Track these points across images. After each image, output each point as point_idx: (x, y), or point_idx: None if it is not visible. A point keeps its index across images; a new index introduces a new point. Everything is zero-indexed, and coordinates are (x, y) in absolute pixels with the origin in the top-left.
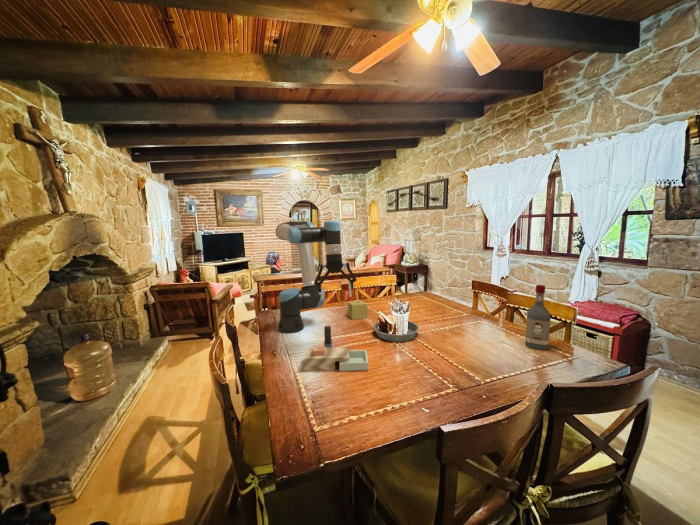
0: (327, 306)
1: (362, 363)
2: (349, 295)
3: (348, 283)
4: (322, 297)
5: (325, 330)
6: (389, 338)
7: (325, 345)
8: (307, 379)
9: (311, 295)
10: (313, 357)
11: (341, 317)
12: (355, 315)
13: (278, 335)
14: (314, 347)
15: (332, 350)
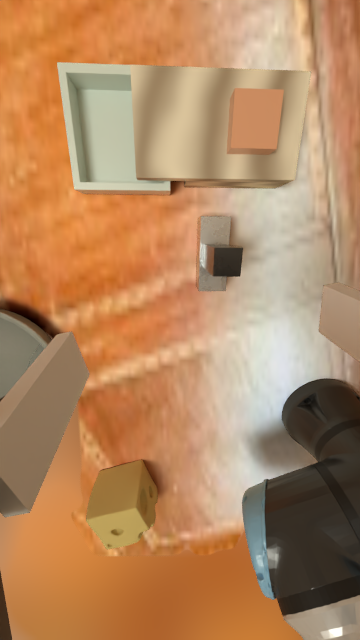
0: (215, 540)
1: (81, 64)
2: (79, 362)
3: (28, 496)
4: (345, 289)
5: (235, 247)
6: (11, 315)
7: (223, 234)
8: (276, 28)
9: (311, 527)
10: (272, 81)
11: (175, 475)
12: (131, 473)
13: (354, 366)
14: (274, 134)
15: (198, 149)
